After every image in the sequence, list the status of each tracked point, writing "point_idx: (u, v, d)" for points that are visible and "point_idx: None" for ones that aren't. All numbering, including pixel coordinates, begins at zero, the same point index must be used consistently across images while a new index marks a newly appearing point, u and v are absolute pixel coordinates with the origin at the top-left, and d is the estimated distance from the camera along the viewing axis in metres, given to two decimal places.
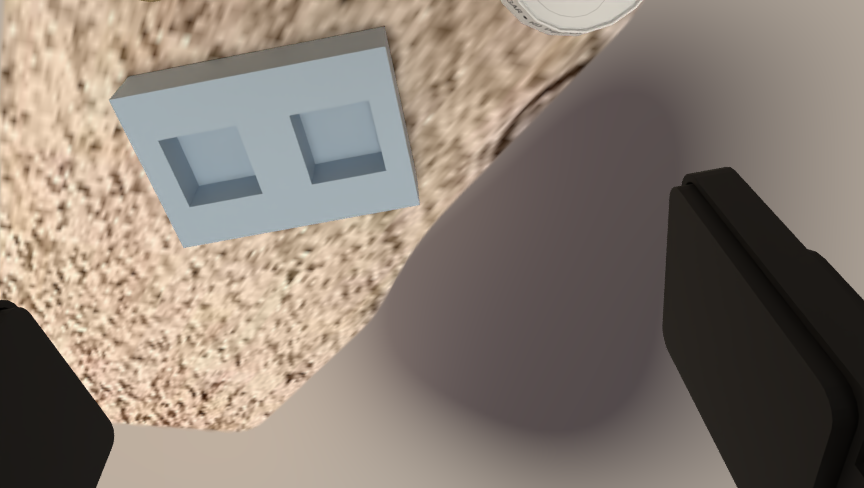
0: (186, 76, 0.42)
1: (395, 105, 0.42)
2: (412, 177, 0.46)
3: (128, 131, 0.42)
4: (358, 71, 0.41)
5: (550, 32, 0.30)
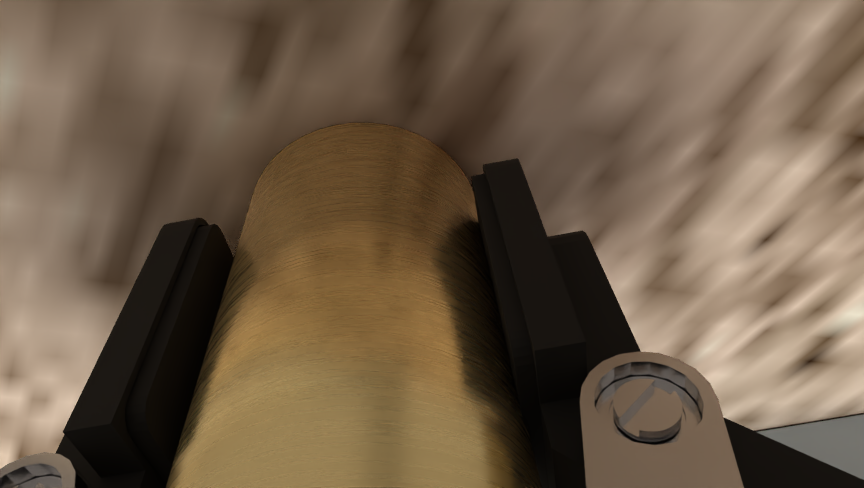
0: None
1: None
2: None
3: None
4: None
5: None
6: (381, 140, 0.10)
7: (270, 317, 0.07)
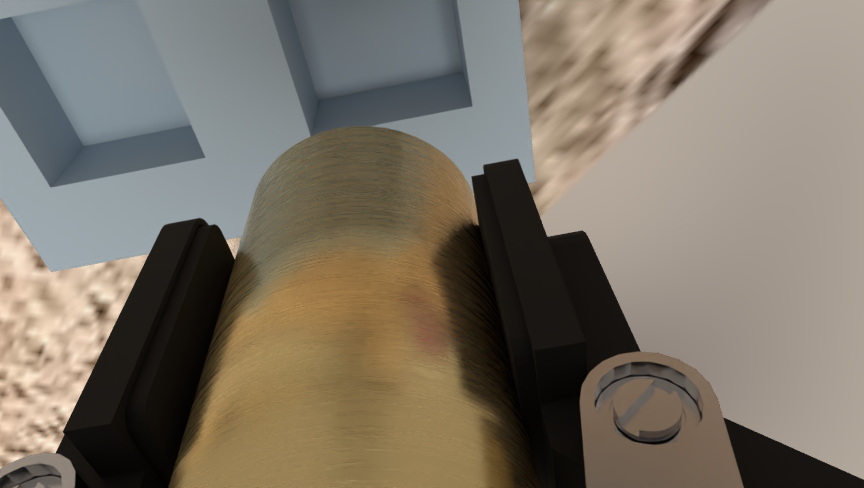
0: None
1: None
2: (527, 121, 0.21)
3: None
4: None
5: None
6: (382, 143, 0.10)
7: (271, 322, 0.07)
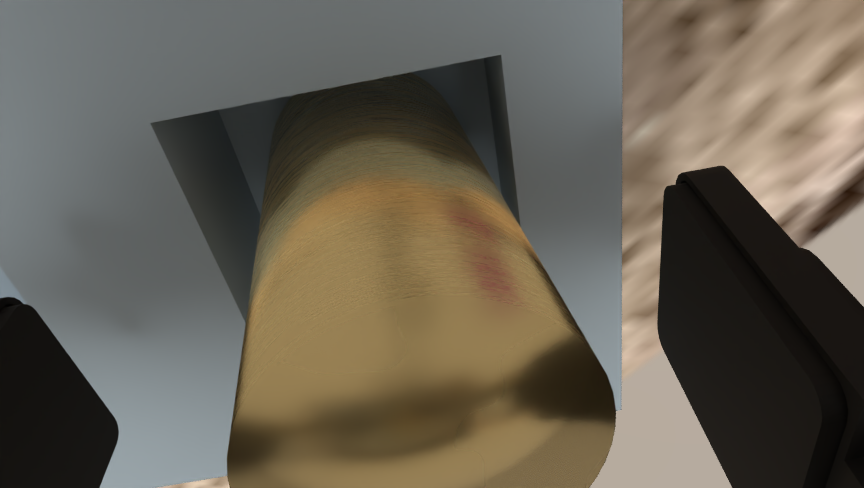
0: None
1: (613, 78, 0.10)
2: (617, 336, 0.13)
3: None
4: None
5: None
6: None
7: (322, 161, 0.09)
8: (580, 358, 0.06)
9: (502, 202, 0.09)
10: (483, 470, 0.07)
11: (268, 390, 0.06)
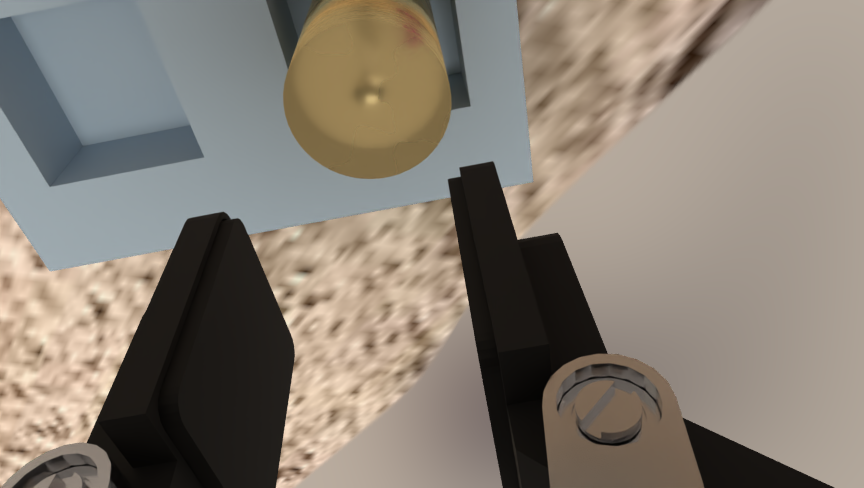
0: None
1: None
2: (525, 121, 0.21)
3: None
4: None
5: None
6: None
7: None
8: (428, 55, 0.15)
9: (422, 11, 0.17)
10: (393, 115, 0.15)
11: (298, 60, 0.15)
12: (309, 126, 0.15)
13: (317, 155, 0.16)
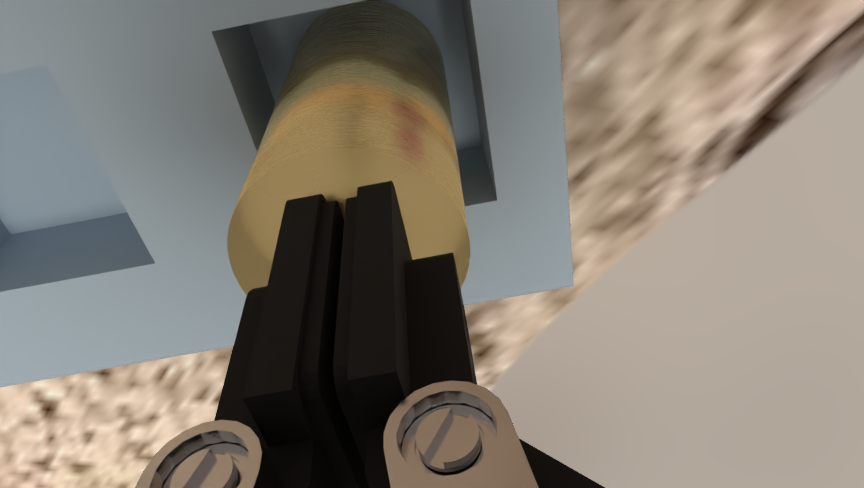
0: None
1: (550, 0, 0.13)
2: (566, 217, 0.17)
3: None
4: None
5: None
6: (371, 6, 0.15)
7: (304, 75, 0.13)
8: (433, 191, 0.10)
9: (427, 100, 0.12)
10: None
11: (244, 206, 0.10)
12: None
13: None
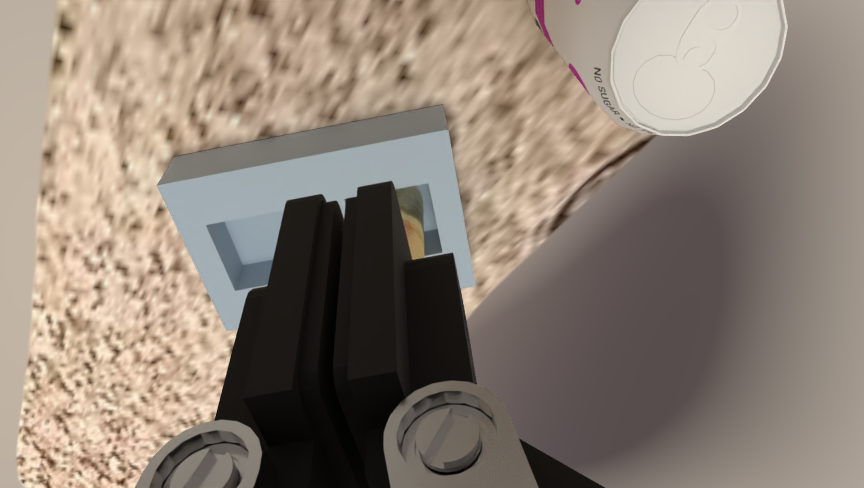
0: (237, 159, 0.40)
1: (456, 188, 0.40)
2: (469, 258, 0.43)
3: (175, 216, 0.40)
4: (418, 154, 0.39)
5: (646, 132, 0.28)
6: None
7: None
8: (412, 250, 0.37)
9: (412, 221, 0.39)
10: None
11: None
12: None
13: None
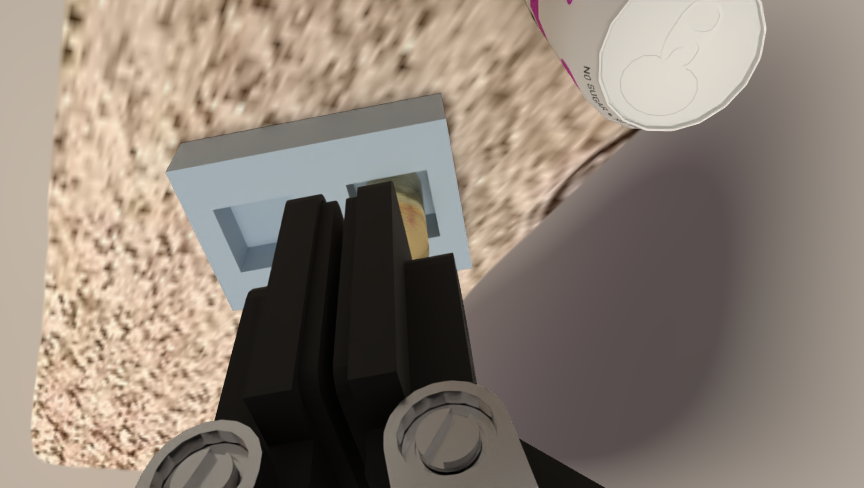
0: (242, 146, 0.41)
1: (453, 174, 0.42)
2: (466, 242, 0.45)
3: (183, 201, 0.42)
4: (417, 142, 0.40)
5: (633, 127, 0.30)
6: None
7: None
8: (416, 231, 0.38)
9: (413, 203, 0.41)
10: None
11: None
12: None
13: None
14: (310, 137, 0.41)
